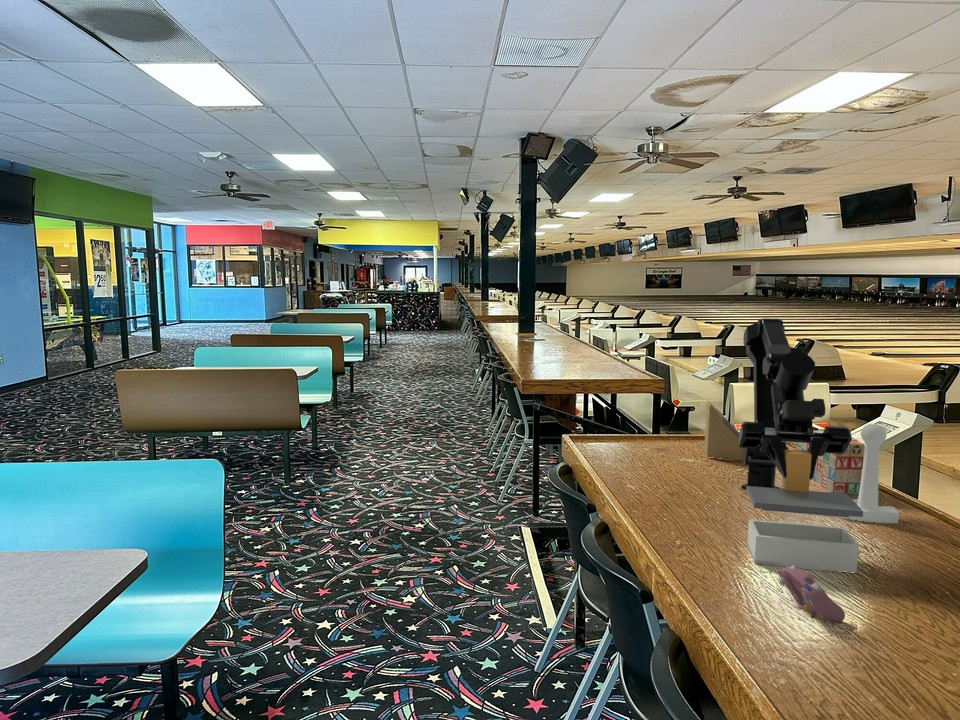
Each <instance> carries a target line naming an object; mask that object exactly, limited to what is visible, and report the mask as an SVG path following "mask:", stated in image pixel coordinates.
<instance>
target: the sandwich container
mask: <svg viewBox="0 0 960 720" xmlns="http://www.w3.org/2000/svg"><path fill="white" fill-rule="evenodd" d="M704 430H705V431H704V432H705V433H704V434H705V435H704V449H705V451H704V453H705V452H706V454H705V456H706V455H707V457H714V458H722V459H732V460H731V461H736V460H742V450H743V448H741V447H740V446H739V432H740V431H738V429H737V428H736V427H735V426H734V425H733V424H732V423H731V422H730V421H729V420H728V419H727V417H725V415H723V414H722V412H720V410H718V408H716V406H714V404H712V403H711V402H710V401H709V400H706V411H705V429H704ZM707 457H706V458H707ZM748 457H749V458H750V456H748ZM722 459H721V460H722Z"/></svg>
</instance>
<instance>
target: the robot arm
mask: <svg viewBox="0 0 960 720" xmlns="http://www.w3.org/2000/svg"><path fill="white" fill-rule="evenodd" d="M785 330H786V327H785V326H784V322H783V319H779V318H765V317H764V318H760V319H758V320H757V322H755V323H752V324H750V325H748V326H746V328H745V330H744V332H743V346H744V347H745V349H746V350H745V352H746V353H745V354H746V357H748V359H749V360H750V361H751V362H752V364H753V400H754V401H753V404H754V405H753V407H754V410H753V411H754V412H753V413H754V414H753V415H754V421H744V422H742V424H741V426H740V430H739V431H738V432H739V446H740V447H741V448H743V450H742V460H743V461H742V462H743V464H744V465H745V466H748V469H747V470H748V471H747V480H746V481H747V482H746V483H745V484H742V485H740V488H741V489H744V490H746V487H747V486H752V487H766V488H779V489H782V487H779V486H776V472H777V471H776V469H777V470H778V472H779V473H780V474H781V476H782V479H783V478H786V476H787V472H786V464H785V460H784V453H785V450H789V448H788V446H787V444H786V443H796V442H797V443H808V445H809V448H808V450H807V451H809V452H810V453H811V455H812V456H811V470H810V481H812V480H813V479H812V478H813V474H814V470H815V466H816V462H817V458H818V456H823V455H824V453H833V454H842V453H845V451H846V449H847V447H848V446H849V444H850V442H851V440H852V437H853V436H852V431H851V430H850V429H849V428H848V427H847V426H833V425H826V426H825V428H824V429H823V431H824V432H823V433H814V432H812V431H810V430H809V429H812V427H813V424H814V423H813V420H815V419H816V418H823V417H824V416H825V415H826V404H825V400H824V398H813V399H812V400H805V395H804V391H805V390H806V389H807V388H808V385H809V383H810V382H811V378H812V375H813V373H814V371H815V367H816V362H815V361H814V359H813V358H812V357H811V356H809V355H808V354H807V353H804V352H802V348H799V347H792V346H791V345H790V344H789V340H788V338H787V335H786V331H785ZM748 456H750V458H749V457H748Z"/></svg>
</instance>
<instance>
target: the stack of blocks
mask: <svg viewBox="0 0 960 720" xmlns="http://www.w3.org/2000/svg"><path fill="white" fill-rule="evenodd" d="M813 432H814V433H823V432H824V430H813ZM795 445H796V446H795V447H796V448H795V450H800V451H807V450H808V448H809V445H808V443H797V442H795ZM865 448H866V444H865V443H863V442H861V441H859V440H858V439H857V438H855V437H853V436H852V440H851V442H850V444H849V446H848V447H847V449H846V451H845V453H842V454H833V453H824V455H823V456H818V458H817V462H816V466H815V470H814V474H813V478H812V480H813V481H814V482H816V483H817V484H819V485H820V486H821V487H822V488H824V489H825V490H826V491H827V492H832V493H845V494H848V495H858V496H859V490H860V483H861V477H862V470H863V463H864V456H865Z"/></svg>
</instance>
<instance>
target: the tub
mask: <svg viewBox="0 0 960 720" xmlns="http://www.w3.org/2000/svg"><path fill="white" fill-rule="evenodd" d="M747 529H748V532H747V547H748V550H749V553H750V555H751V558H752V561H753V563H754V564H755V565H765V566H776V567H783V568H786V567H791V566H792V565H794V566H795V568H797V569H801V570H804V569H805V570H813V571H822V570H825V571H824V572H832V571H844V572H845V571H846V572H854V573H856V574H857V572H858V571H857V570H858V560H859V559H858V557H859V548H860V547H859V544H858V543H857V542H856V540H855V539H854V538H853V536H851V534H850V533H849V531H848V530H847V529H846V528H845V527H839V526H830V525H829V526H827V525H815V524H805V523H794V522H793V523H792V522H781V521H780V522H779V521H769V520H757V519H748V528H747ZM826 570H828V571H826Z"/></svg>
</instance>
